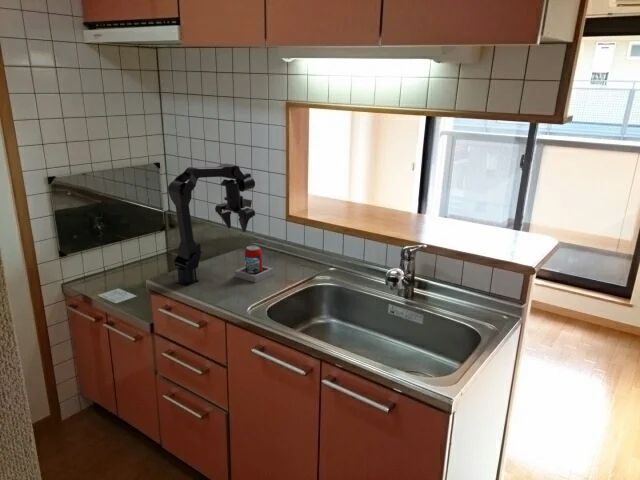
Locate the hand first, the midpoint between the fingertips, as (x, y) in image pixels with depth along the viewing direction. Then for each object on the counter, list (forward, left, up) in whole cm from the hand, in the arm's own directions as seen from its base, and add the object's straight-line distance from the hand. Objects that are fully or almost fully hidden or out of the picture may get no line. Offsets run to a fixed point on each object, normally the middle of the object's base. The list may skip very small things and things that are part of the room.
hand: (236, 230), depth 211 cm
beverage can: (-7, -15, -15) cm, 23 cm away
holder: (-7, -15, -15) cm, 22 cm away
